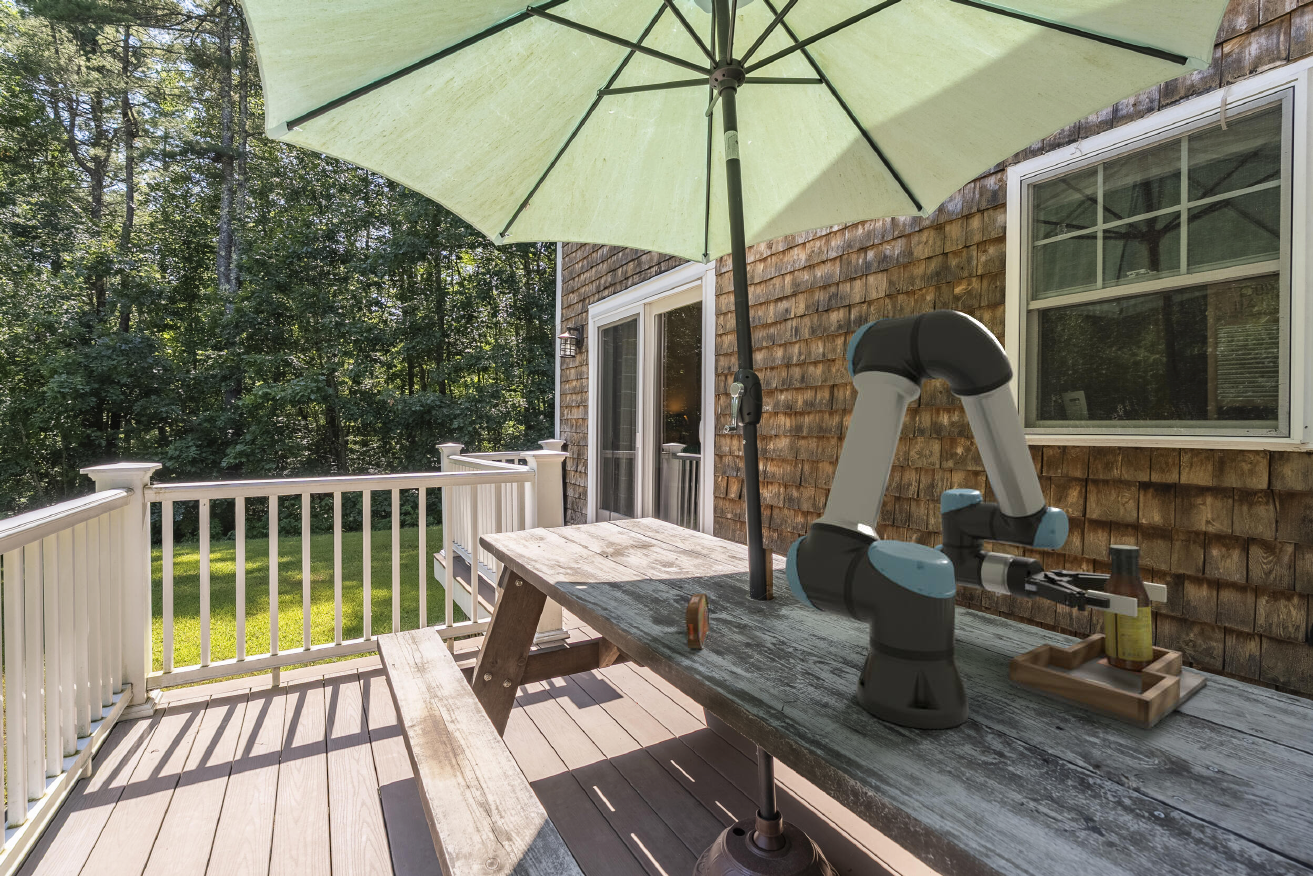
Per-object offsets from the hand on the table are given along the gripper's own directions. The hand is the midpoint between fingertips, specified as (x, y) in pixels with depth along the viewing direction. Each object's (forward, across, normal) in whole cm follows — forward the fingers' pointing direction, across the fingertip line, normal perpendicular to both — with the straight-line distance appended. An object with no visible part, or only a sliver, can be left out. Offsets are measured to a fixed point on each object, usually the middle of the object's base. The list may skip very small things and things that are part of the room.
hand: (1152, 600), depth 99 cm
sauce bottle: (-3, 0, -12) cm, 12 cm away
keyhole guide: (-3, +8, -13) cm, 16 cm away
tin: (-57, +48, -13) cm, 76 cm away
